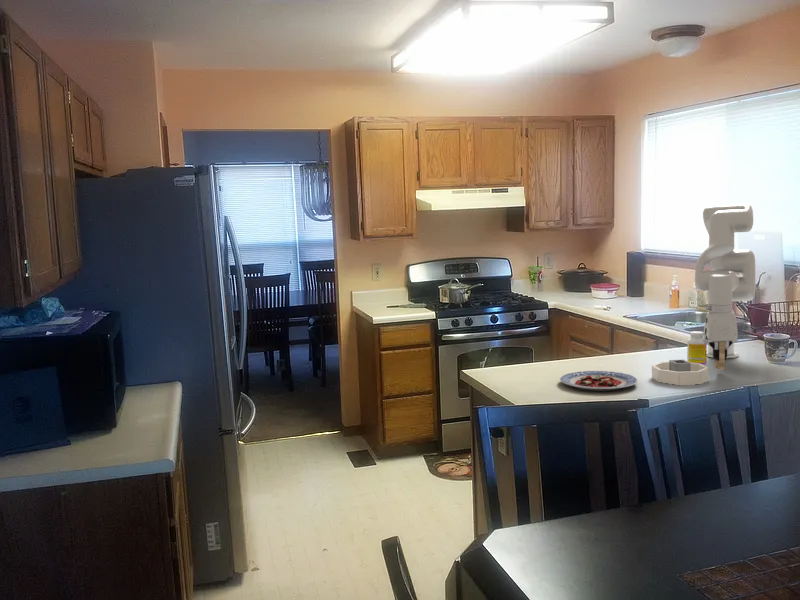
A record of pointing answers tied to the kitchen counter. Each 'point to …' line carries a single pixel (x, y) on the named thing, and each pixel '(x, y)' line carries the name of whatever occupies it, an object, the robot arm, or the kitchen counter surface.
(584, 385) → the ceramic plate
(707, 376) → the shallow round tray
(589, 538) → the kitchen counter surface
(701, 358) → the supplement bottle
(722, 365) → the wooden block
